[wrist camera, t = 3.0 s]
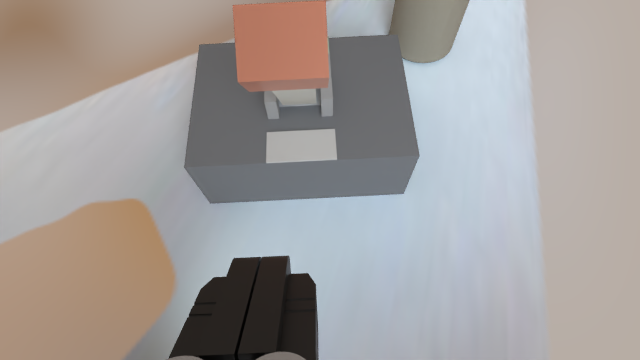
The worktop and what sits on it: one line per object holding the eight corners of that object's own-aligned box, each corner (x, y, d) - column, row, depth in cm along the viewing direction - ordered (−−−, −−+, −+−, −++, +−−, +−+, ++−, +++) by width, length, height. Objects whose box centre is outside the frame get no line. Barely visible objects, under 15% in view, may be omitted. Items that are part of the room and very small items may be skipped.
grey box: (210, 203, 40) (173, 152, 31) (219, 94, 46) (191, 24, 37) (403, 193, 40) (425, 140, 31) (387, 86, 46) (401, 14, 37)
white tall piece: (275, 114, 35) (237, 82, 19) (273, 73, 34) (232, 5, 18) (324, 112, 35) (329, 77, 19) (322, 71, 34) (325, 0, 18)
